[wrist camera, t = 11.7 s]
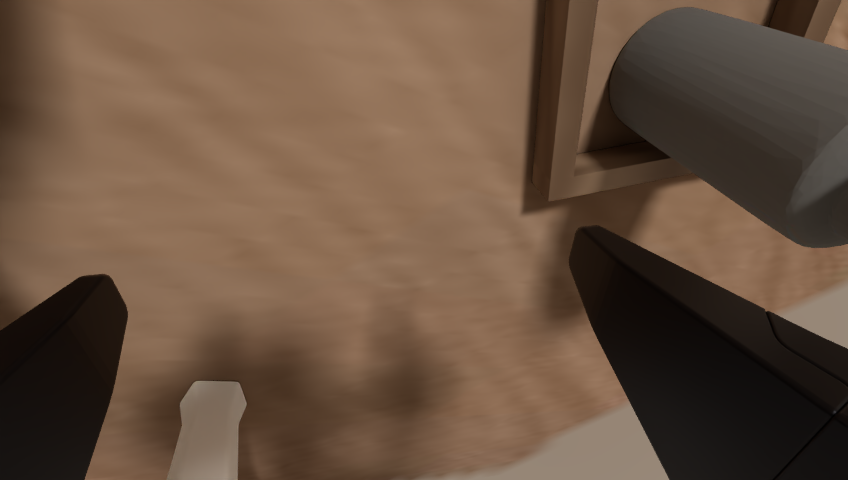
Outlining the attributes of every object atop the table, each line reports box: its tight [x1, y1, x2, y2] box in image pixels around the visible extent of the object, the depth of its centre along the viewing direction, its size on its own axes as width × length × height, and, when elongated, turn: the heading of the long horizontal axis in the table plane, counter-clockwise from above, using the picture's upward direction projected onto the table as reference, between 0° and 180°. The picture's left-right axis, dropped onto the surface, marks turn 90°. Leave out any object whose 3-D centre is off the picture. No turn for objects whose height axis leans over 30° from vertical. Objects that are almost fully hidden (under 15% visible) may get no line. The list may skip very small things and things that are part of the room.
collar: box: [532, 0, 841, 202], centre depth 21 cm, size 13×13×2 cm
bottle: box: [609, 7, 848, 248], centre depth 17 cm, size 6×6×15 cm
